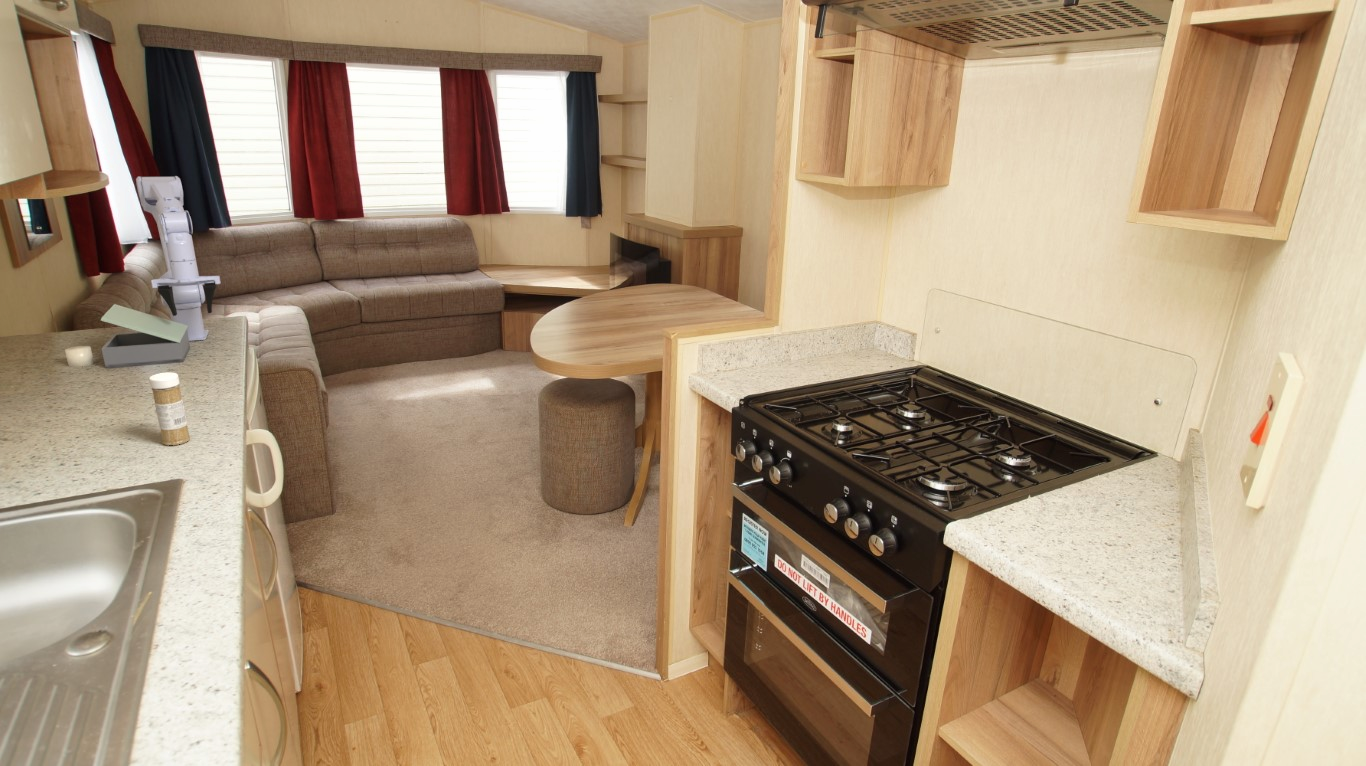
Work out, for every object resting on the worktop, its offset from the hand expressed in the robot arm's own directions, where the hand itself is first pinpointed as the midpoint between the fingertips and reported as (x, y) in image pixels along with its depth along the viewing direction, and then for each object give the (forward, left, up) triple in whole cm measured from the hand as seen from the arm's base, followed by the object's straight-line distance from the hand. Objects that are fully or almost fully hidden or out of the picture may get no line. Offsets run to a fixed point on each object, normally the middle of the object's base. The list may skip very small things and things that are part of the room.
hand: (192, 313), depth 193 cm
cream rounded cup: (+1, -25, -11) cm, 27 cm away
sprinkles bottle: (+63, +2, -11) cm, 64 cm away
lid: (0, -10, -2) cm, 11 cm away
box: (0, -11, -11) cm, 15 cm away
